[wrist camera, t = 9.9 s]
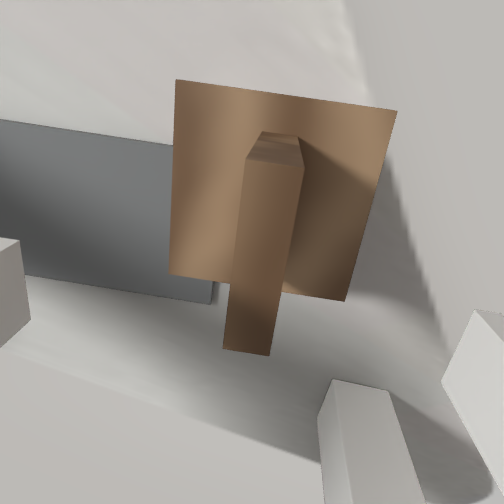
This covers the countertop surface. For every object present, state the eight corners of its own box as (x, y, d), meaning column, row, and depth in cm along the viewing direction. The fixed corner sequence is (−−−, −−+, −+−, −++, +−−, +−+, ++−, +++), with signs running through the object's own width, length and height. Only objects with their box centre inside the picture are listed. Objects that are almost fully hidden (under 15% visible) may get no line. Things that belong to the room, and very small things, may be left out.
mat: (8, 268, 35) (4, 271, 35) (-17, 116, 29) (-22, 117, 29) (211, 301, 35) (210, 304, 34) (226, 153, 29) (225, 154, 28)
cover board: (173, 266, 26) (109, 366, 16) (181, 79, 21) (95, 71, 11) (342, 292, 25) (374, 409, 16) (391, 110, 20) (479, 126, 11)
